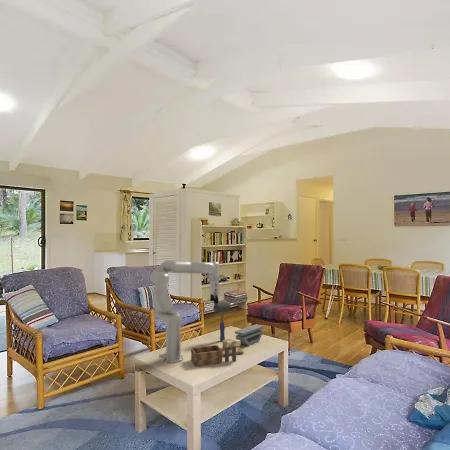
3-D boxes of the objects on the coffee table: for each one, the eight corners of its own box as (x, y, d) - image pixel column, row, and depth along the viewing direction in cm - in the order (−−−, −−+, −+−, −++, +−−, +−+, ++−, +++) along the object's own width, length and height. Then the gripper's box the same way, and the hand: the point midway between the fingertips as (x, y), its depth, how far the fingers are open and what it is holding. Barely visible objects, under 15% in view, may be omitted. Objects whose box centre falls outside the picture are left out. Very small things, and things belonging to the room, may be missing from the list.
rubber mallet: (219, 343, 256) (218, 304, 257) (213, 341, 262) (212, 302, 263) (231, 340, 265) (231, 301, 265) (225, 338, 270) (224, 300, 271)
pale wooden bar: (224, 347, 219) (224, 341, 219) (223, 346, 222) (223, 340, 222) (240, 346, 222) (240, 339, 222) (239, 344, 225) (239, 338, 225)
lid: (219, 357, 229) (218, 345, 229) (214, 351, 241) (214, 340, 241) (244, 354, 234) (243, 342, 235) (238, 348, 246) (238, 337, 246)
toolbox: (195, 366, 213) (194, 351, 213) (191, 360, 224) (191, 345, 225) (236, 361, 221) (236, 346, 221) (230, 355, 233) (230, 340, 233)
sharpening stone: (255, 338, 269) (255, 324, 269) (263, 340, 264) (263, 326, 264) (234, 346, 251) (234, 331, 251) (243, 348, 245) (242, 333, 246)
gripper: (222, 280, 241) (222, 304, 241) (215, 277, 257) (216, 299, 257) (212, 280, 239) (212, 305, 238) (206, 277, 255) (206, 300, 255)
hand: (214, 302), depth 248 cm, fingers open, 9 cm apart
